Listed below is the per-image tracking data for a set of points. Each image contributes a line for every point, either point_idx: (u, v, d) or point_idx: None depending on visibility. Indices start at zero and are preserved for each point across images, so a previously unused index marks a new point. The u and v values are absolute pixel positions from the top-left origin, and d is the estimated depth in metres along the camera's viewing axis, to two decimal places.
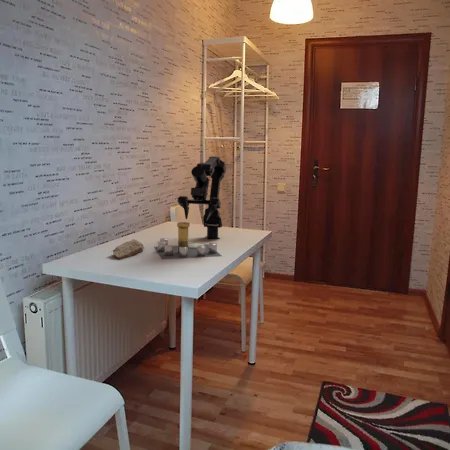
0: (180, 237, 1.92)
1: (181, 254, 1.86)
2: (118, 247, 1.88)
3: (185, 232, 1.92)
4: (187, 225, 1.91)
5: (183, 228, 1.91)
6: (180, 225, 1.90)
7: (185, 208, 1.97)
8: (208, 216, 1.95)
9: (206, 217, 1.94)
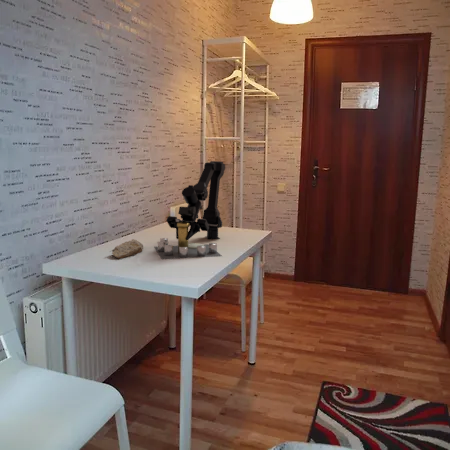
0: (180, 237, 1.92)
1: (181, 254, 1.86)
2: (117, 247, 1.88)
3: (185, 232, 1.92)
4: (187, 225, 1.91)
5: (183, 228, 1.91)
6: (180, 225, 1.90)
7: (177, 228, 1.95)
8: (189, 236, 1.93)
9: (187, 236, 1.92)
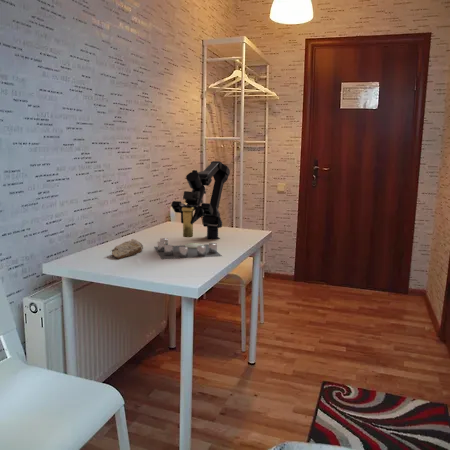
0: (185, 221, 1.95)
1: (181, 254, 1.86)
2: (117, 247, 1.89)
3: (190, 217, 1.95)
4: (192, 209, 1.94)
5: (188, 212, 1.94)
6: (185, 209, 1.94)
7: (182, 212, 1.98)
8: (194, 220, 1.96)
9: (191, 221, 1.95)
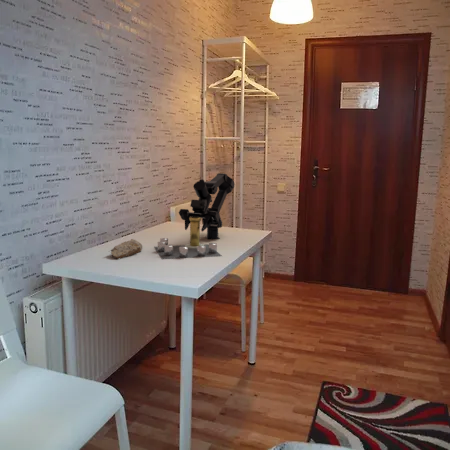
0: (192, 231, 2.04)
1: (181, 254, 1.86)
2: (116, 247, 1.89)
3: (197, 226, 2.03)
4: (199, 219, 2.03)
5: (195, 222, 2.03)
6: (192, 219, 2.02)
7: (186, 220, 2.07)
8: (204, 228, 2.03)
9: (202, 228, 2.03)
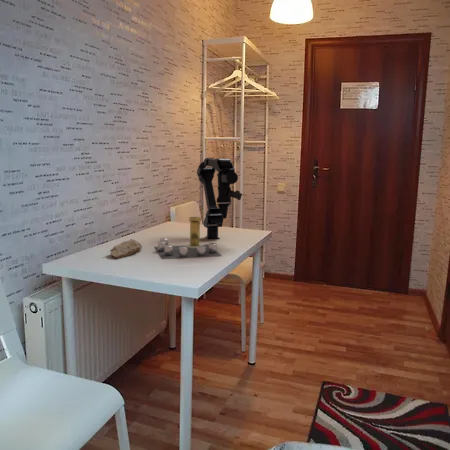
0: (192, 231, 2.03)
1: (181, 254, 1.86)
2: (116, 247, 1.89)
3: (197, 226, 2.03)
4: (199, 219, 2.03)
5: (195, 222, 2.02)
6: (192, 219, 2.02)
7: (227, 208, 2.05)
8: None
9: (226, 215, 2.15)
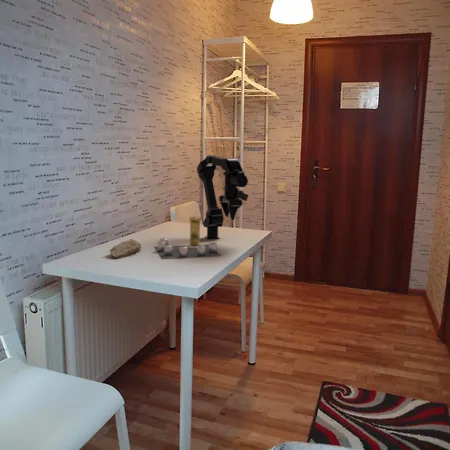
0: (192, 231, 2.03)
1: (181, 254, 1.86)
2: (115, 247, 1.89)
3: (197, 226, 2.03)
4: (199, 219, 2.03)
5: (195, 222, 2.02)
6: (192, 219, 2.02)
7: None
8: None
9: (228, 214, 2.16)
